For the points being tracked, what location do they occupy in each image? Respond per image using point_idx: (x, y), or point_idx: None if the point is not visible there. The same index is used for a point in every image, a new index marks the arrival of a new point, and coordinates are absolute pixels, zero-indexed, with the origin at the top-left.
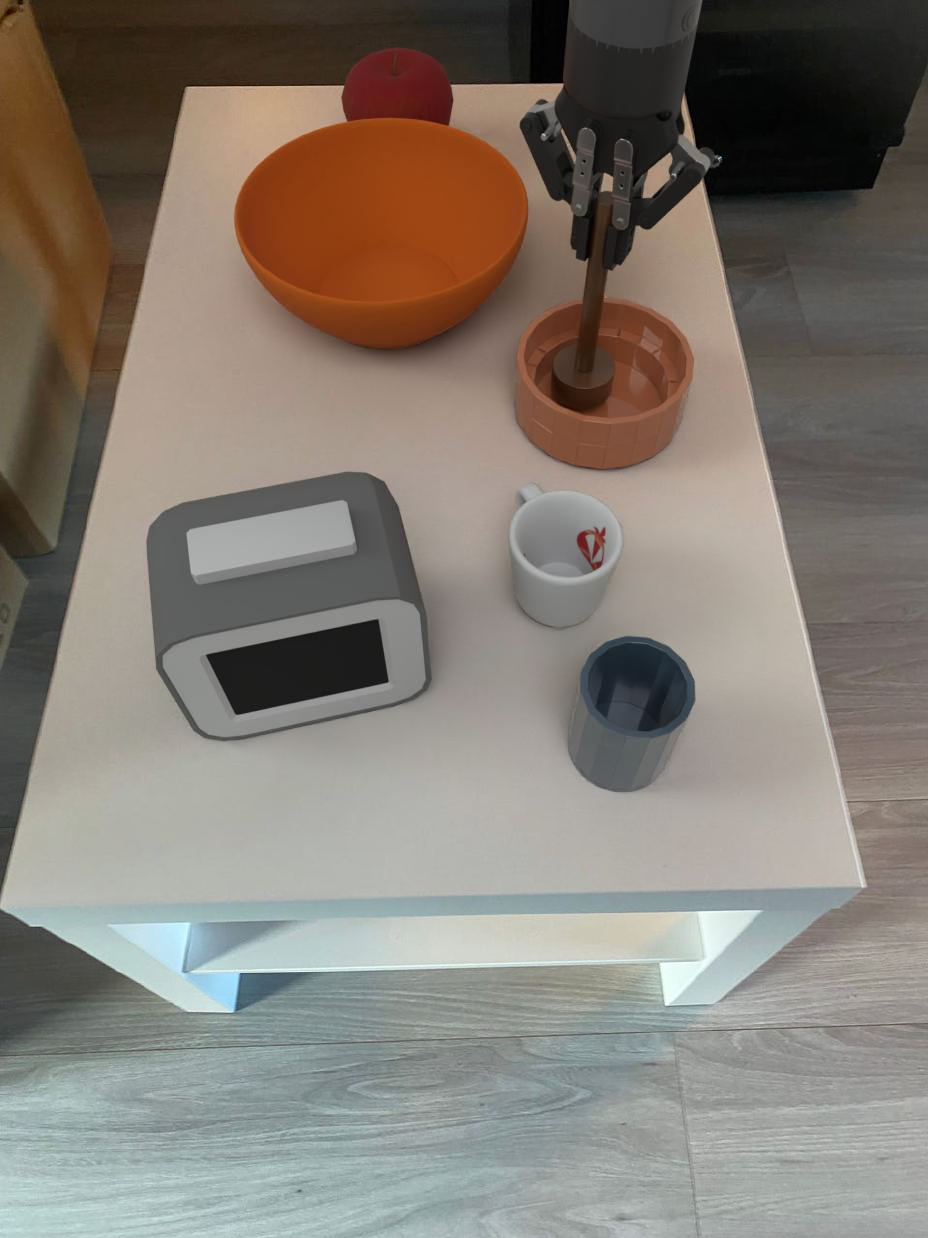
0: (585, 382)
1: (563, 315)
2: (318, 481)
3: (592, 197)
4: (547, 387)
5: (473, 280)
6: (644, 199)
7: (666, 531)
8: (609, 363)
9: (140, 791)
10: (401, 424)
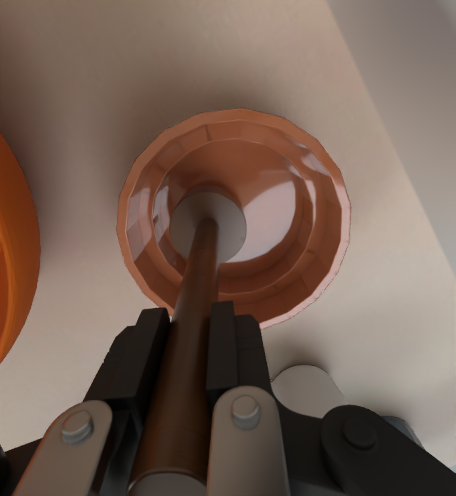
0: (224, 252)
1: (138, 184)
2: None
3: (118, 493)
4: None
5: (15, 302)
6: (312, 493)
7: (353, 299)
8: (232, 210)
9: None
10: (91, 325)
